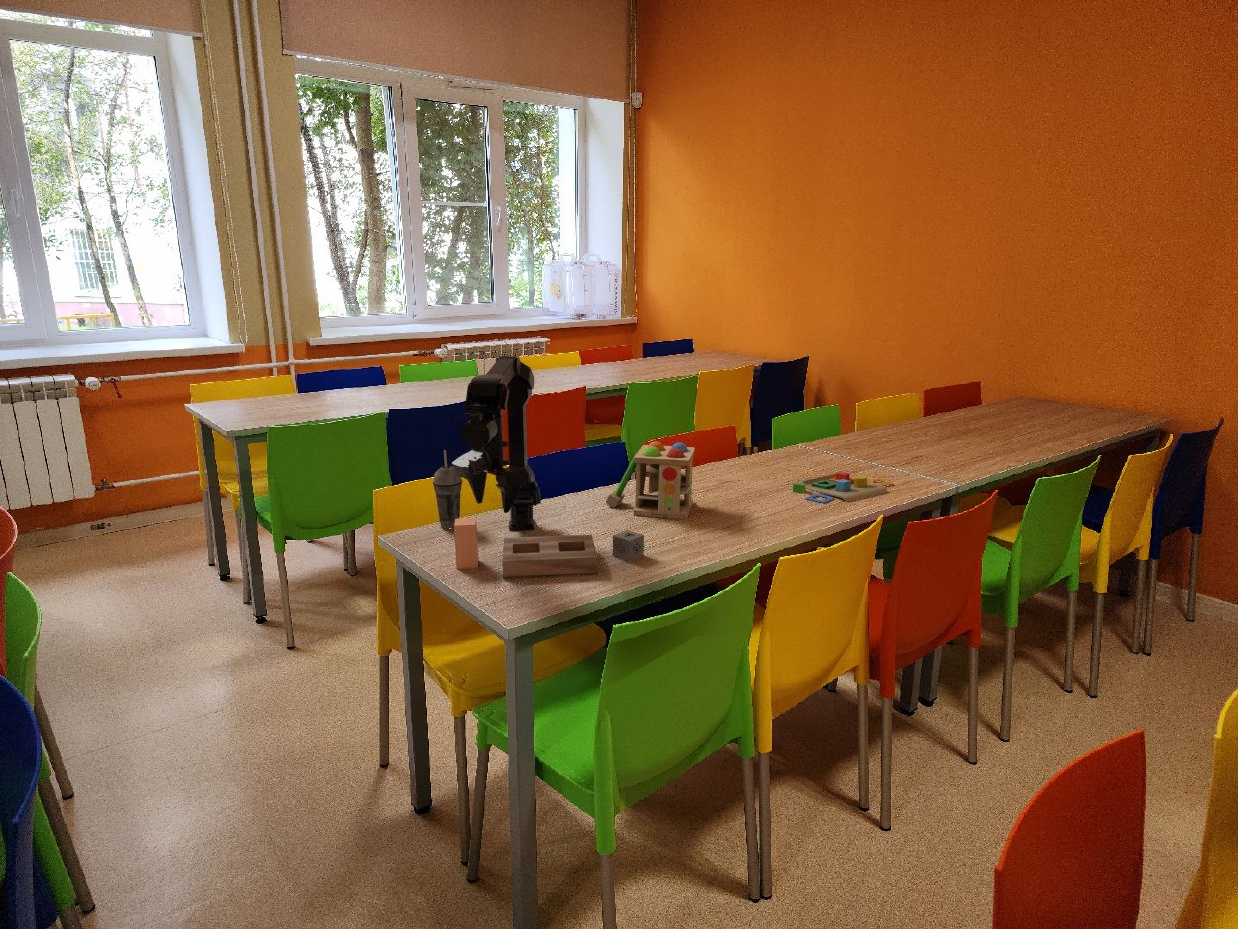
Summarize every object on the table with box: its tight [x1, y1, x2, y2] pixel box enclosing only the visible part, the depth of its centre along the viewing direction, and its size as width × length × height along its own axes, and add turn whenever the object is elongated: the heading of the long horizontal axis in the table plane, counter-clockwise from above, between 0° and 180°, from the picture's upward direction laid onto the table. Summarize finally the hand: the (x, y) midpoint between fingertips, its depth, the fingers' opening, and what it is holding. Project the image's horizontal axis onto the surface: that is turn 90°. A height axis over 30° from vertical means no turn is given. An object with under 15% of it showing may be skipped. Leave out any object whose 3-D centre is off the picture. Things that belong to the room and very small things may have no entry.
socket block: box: [501, 534, 598, 580], centre depth 175 cm, size 14×20×4 cm
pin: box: [453, 517, 479, 570], centre depth 174 cm, size 4×4×10 cm
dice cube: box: [612, 529, 645, 562], centre depth 180 cm, size 5×5×5 cm
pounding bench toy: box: [605, 440, 696, 520], centre depth 212 cm, size 23×14×18 cm, turn 79°
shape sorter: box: [792, 471, 895, 505], centre depth 231 cm, size 34×19×5 cm, turn 123°
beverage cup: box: [432, 449, 463, 530], centre depth 197 cm, size 7×7×20 cm
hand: (492, 507), depth 171 cm, fingers open, 9 cm apart
